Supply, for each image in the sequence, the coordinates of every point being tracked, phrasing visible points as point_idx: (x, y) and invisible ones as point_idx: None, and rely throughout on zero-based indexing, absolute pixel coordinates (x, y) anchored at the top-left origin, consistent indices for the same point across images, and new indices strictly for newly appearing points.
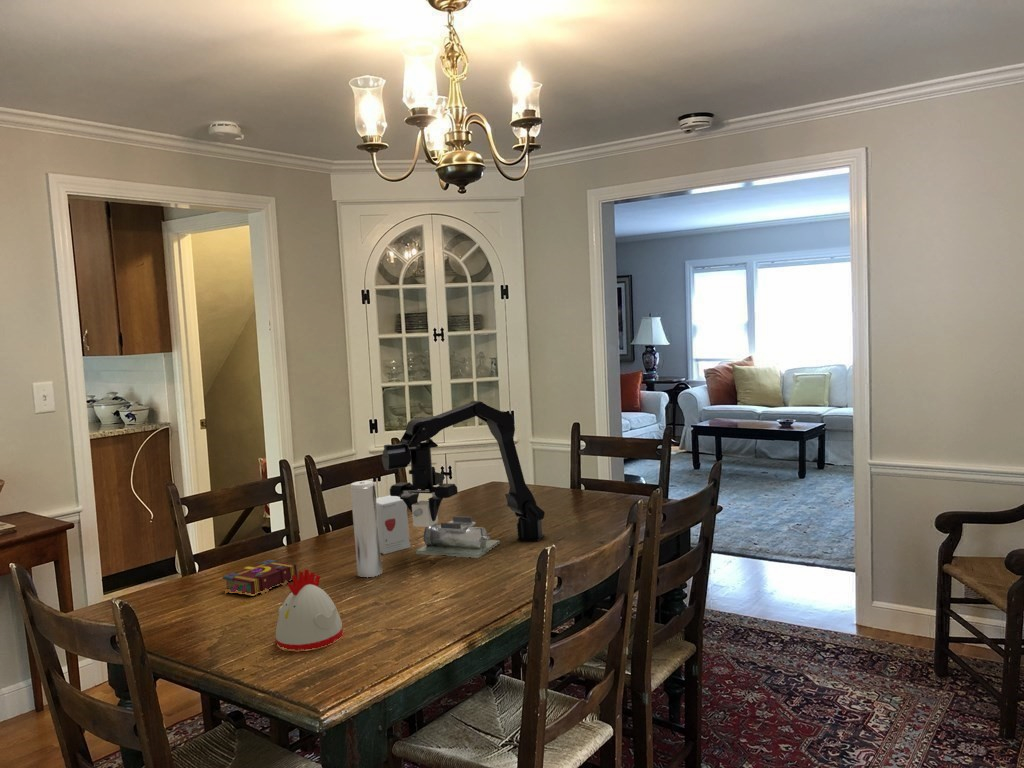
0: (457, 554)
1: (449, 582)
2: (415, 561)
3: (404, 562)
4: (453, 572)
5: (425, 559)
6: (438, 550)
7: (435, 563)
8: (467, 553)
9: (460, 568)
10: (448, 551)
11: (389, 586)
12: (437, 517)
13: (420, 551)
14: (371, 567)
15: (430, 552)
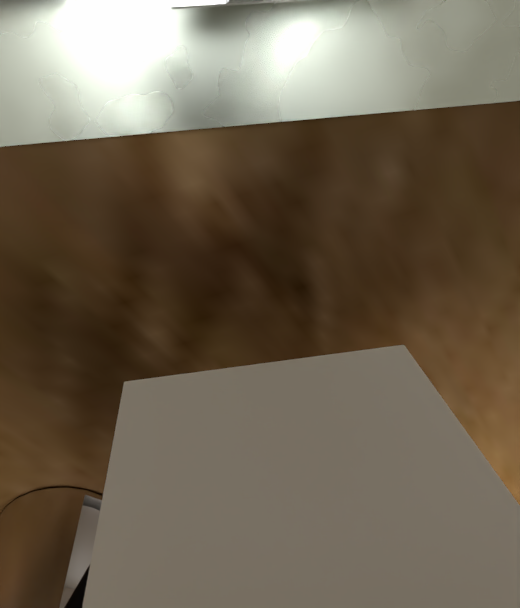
0: (410, 108)
1: (514, 469)
2: (149, 299)
3: (89, 339)
4: (489, 372)
5: (189, 241)
6: (207, 88)
7: (312, 288)
8: (503, 91)
9: (508, 311)
10: (315, 87)
11: None
12: (437, 399)
13: (42, 140)
14: None
15: (149, 131)
